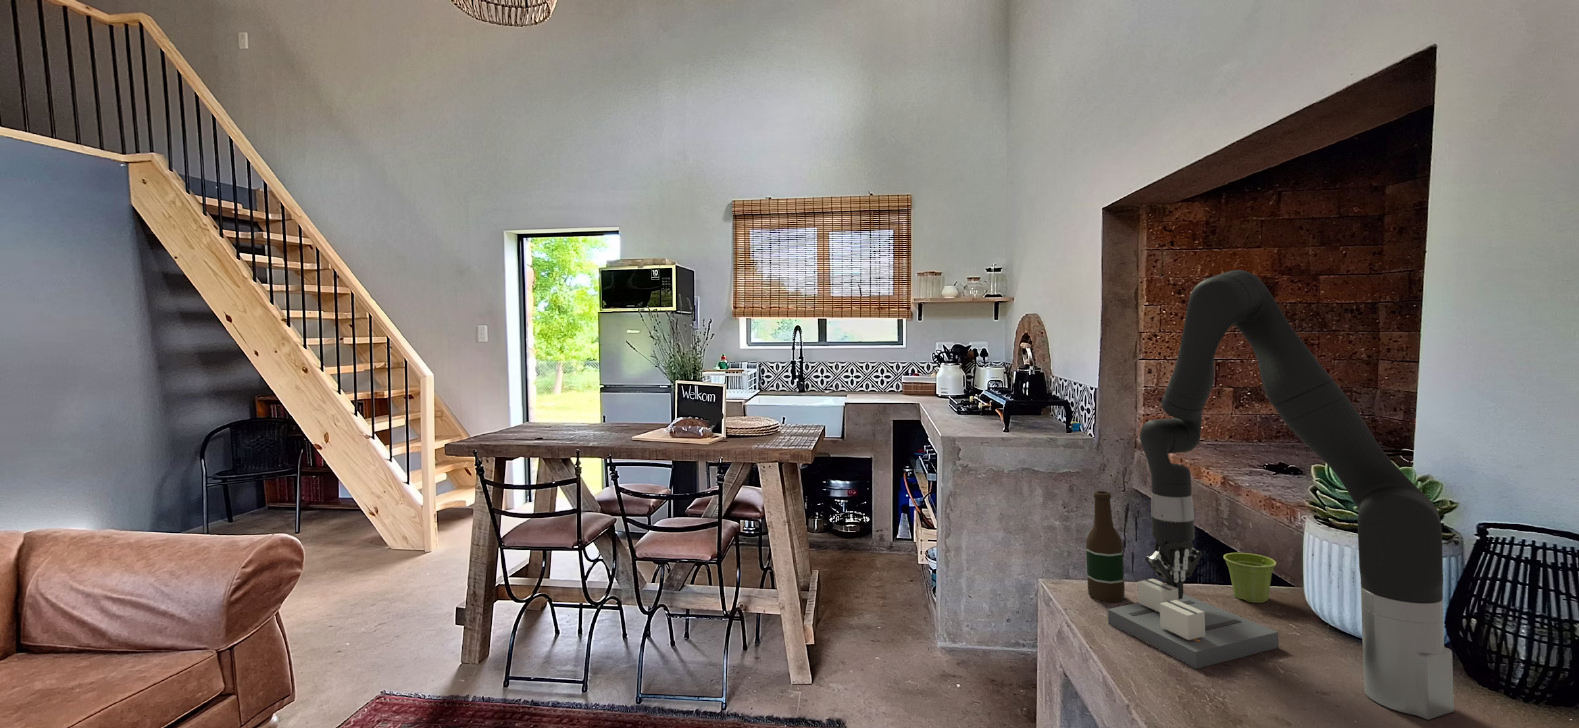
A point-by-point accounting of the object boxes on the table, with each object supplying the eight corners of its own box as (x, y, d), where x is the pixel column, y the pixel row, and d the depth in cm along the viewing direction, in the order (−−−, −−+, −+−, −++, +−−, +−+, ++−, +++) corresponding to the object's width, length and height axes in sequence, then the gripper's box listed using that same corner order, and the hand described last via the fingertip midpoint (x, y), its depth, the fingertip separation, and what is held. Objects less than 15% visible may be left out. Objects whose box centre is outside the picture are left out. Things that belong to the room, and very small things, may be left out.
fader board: (1278, 647, 117) (1278, 631, 117) (1195, 668, 111) (1195, 651, 111) (1183, 607, 136) (1182, 593, 136) (1108, 623, 130) (1107, 608, 130)
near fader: (1205, 636, 116) (1204, 611, 116) (1188, 640, 115) (1187, 615, 114) (1176, 622, 122) (1175, 599, 121) (1160, 626, 120) (1159, 602, 120)
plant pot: (1218, 588, 145) (1216, 551, 145) (1265, 591, 142) (1264, 553, 142) (1234, 605, 136) (1233, 565, 136) (1286, 608, 133) (1284, 567, 133)
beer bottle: (1130, 604, 139) (1126, 496, 139) (1092, 603, 141) (1088, 496, 140) (1119, 590, 147) (1115, 488, 146) (1083, 589, 148) (1079, 488, 148)
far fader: (1179, 610, 127) (1178, 587, 127) (1163, 614, 126) (1162, 591, 125) (1153, 599, 133) (1152, 577, 132) (1138, 602, 131) (1137, 580, 131)
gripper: (1162, 524, 124) (1166, 610, 125) (1213, 515, 128) (1216, 599, 129) (1131, 515, 132) (1135, 597, 132) (1181, 507, 135) (1184, 587, 136)
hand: (1175, 598), depth 130 cm, fingers closed
